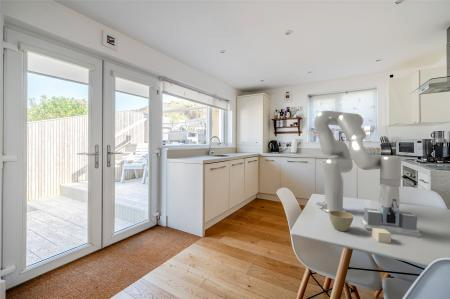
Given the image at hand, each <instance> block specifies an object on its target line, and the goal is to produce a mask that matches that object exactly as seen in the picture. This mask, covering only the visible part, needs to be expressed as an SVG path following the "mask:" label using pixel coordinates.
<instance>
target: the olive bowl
mask: <svg viewBox="0 0 450 299" xmlns="http://www.w3.org/2000/svg"><path fill="white" fill-rule="evenodd" d="M328 216H329V220H330V222H331V225H332V227H333V228H334V229H335V230H337V231H338V232H339V231H340V232H346V231H347V230H348V229H349V228H350V227H351V225H352V223H353V221H354V215H353V214H351V213H349V212H347V211H346V212H343V211H330V212H329V213H328Z"/></svg>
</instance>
